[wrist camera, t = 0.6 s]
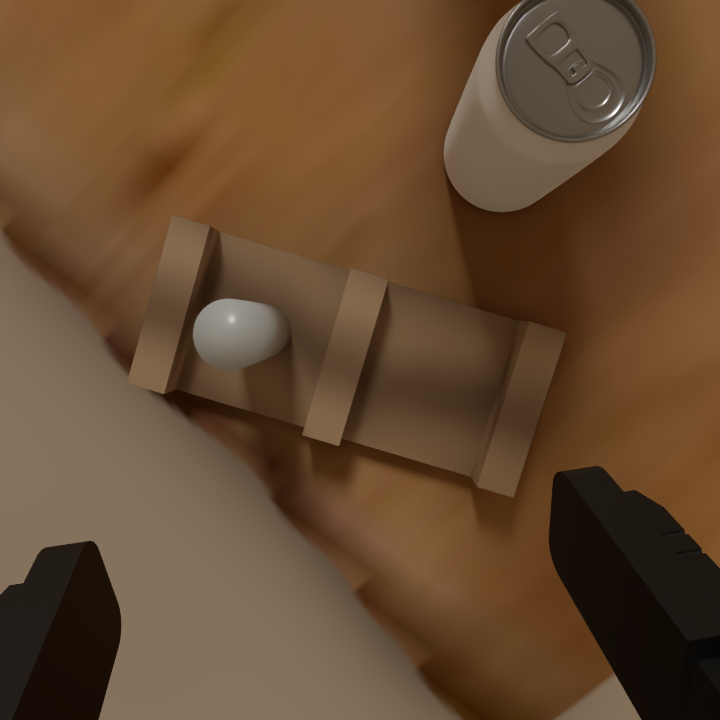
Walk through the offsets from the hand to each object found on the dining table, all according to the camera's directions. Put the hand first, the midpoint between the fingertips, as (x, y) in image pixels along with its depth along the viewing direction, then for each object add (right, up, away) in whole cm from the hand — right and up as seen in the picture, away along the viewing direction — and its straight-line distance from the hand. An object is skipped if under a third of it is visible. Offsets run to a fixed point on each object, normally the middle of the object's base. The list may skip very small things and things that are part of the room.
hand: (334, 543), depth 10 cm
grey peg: (-5, +5, +22) cm, 23 cm away
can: (+8, +15, +22) cm, 28 cm away
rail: (0, +3, +23) cm, 23 cm away
